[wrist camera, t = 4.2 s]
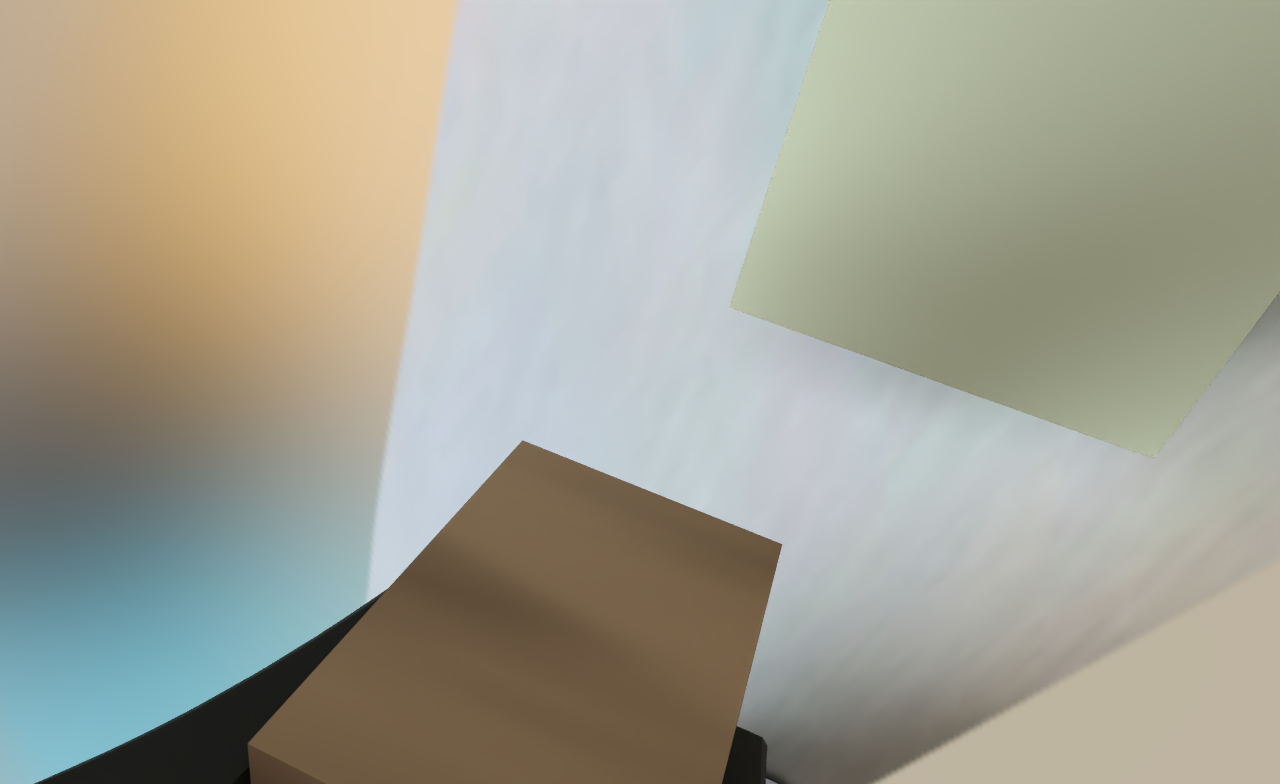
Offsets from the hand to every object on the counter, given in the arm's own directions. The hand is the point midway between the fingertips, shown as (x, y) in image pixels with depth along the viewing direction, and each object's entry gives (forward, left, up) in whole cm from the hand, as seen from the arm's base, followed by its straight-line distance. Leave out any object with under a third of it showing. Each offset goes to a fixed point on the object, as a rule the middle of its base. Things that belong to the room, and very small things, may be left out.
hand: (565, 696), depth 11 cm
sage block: (+8, -4, -9) cm, 13 cm away
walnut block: (0, 0, -2) cm, 2 cm away
